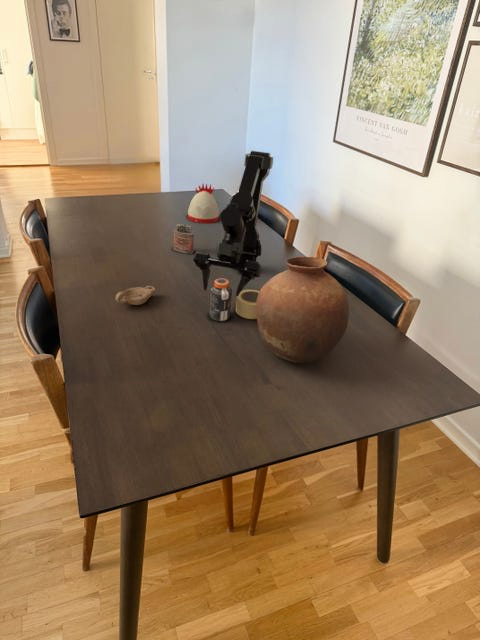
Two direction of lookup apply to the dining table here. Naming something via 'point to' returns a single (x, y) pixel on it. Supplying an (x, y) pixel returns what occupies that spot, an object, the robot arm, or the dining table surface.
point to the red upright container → (183, 239)
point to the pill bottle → (220, 300)
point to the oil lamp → (135, 295)
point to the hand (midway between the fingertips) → (220, 293)
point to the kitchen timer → (203, 206)
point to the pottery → (302, 311)
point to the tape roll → (247, 304)
